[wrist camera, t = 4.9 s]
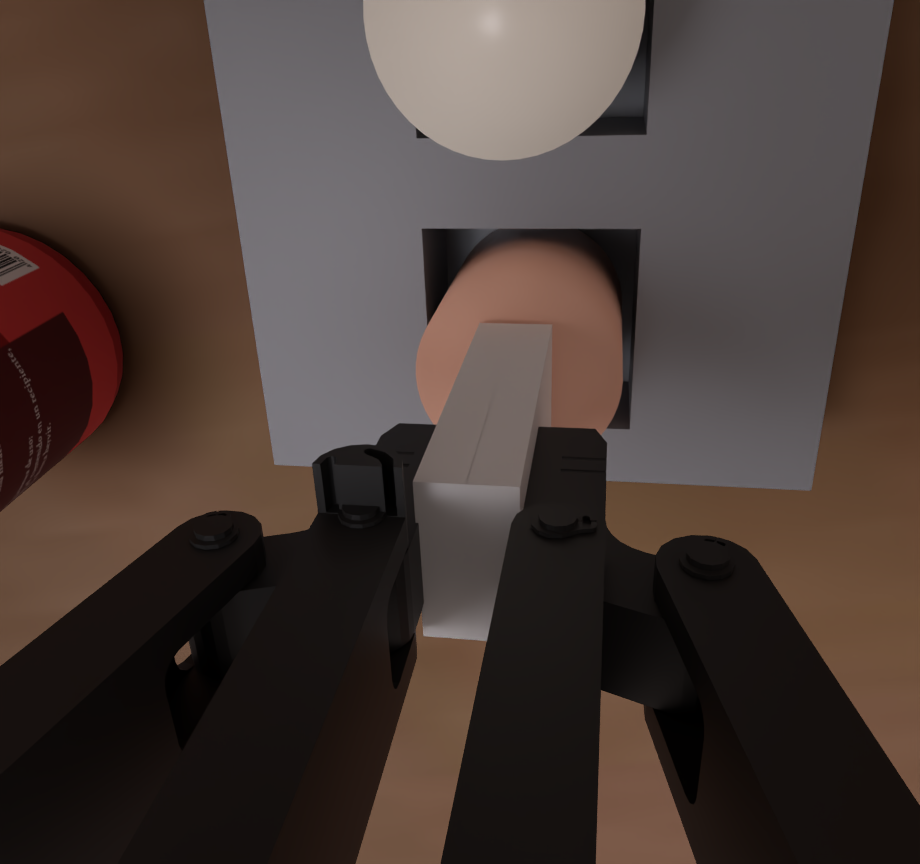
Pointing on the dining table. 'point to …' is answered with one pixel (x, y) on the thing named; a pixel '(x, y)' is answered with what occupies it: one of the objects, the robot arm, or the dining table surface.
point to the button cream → (503, 68)
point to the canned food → (49, 361)
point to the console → (564, 225)
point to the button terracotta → (535, 319)
